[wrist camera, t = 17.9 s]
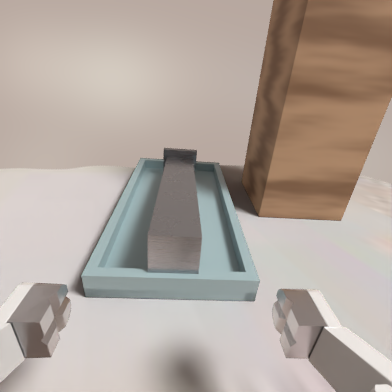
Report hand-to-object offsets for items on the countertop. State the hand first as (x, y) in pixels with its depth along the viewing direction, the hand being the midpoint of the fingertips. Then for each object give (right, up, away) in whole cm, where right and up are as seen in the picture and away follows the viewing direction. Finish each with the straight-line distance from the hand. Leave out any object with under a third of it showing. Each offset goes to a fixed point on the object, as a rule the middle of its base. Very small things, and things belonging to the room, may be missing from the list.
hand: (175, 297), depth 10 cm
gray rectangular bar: (-1, +3, +16) cm, 17 cm away
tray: (-1, +2, +19) cm, 19 cm away
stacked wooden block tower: (+13, +4, +24) cm, 27 cm away
